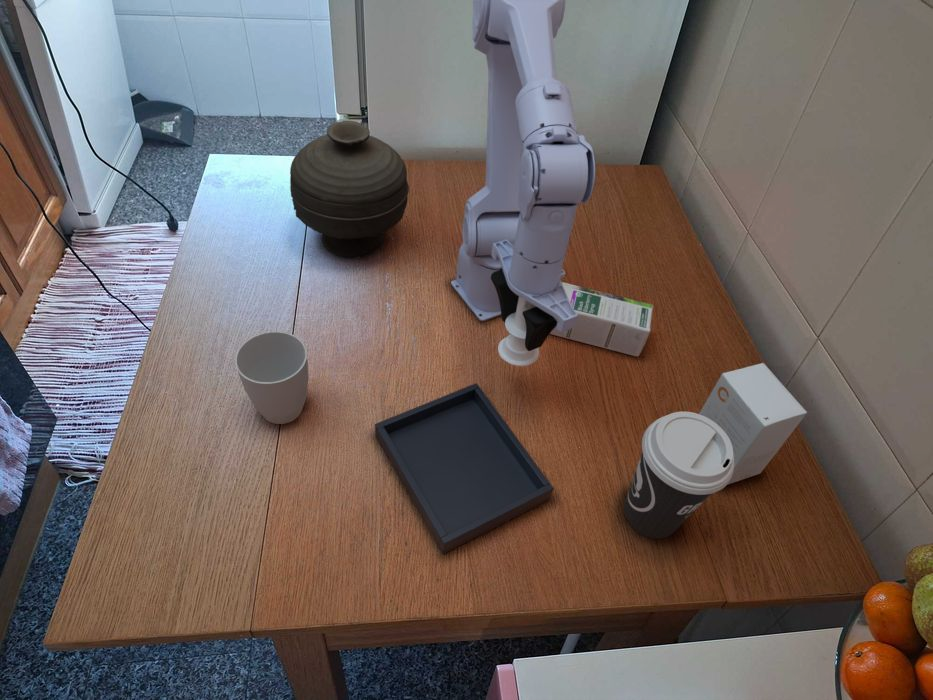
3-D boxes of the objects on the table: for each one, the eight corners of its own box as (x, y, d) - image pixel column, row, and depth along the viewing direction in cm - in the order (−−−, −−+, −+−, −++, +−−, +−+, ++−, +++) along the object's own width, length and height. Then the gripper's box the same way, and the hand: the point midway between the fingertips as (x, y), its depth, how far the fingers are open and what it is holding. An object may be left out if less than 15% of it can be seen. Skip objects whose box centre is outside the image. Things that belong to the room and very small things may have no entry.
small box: (760, 474, 82) (809, 413, 72) (720, 488, 80) (764, 427, 70) (722, 424, 87) (764, 360, 77) (683, 436, 85) (720, 372, 75)
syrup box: (651, 331, 89) (549, 303, 91) (638, 359, 94) (541, 332, 95) (654, 304, 93) (556, 278, 95) (642, 332, 98) (548, 307, 99)
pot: (433, 227, 109) (429, 121, 93) (367, 291, 99) (350, 184, 84) (350, 190, 115) (333, 84, 99) (280, 248, 105) (250, 140, 90)
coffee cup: (644, 565, 72) (689, 498, 61) (595, 496, 78) (629, 423, 67) (707, 531, 76) (761, 462, 65) (656, 467, 81) (698, 393, 70)
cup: (325, 394, 84) (319, 343, 77) (294, 442, 79) (284, 392, 72) (270, 376, 86) (258, 323, 78) (236, 422, 80) (220, 370, 73)
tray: (375, 435, 81) (374, 423, 79) (474, 395, 87) (476, 382, 85) (442, 554, 71) (444, 543, 69) (550, 499, 77) (554, 488, 75)
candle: (489, 350, 83) (500, 279, 74) (515, 330, 86) (529, 259, 77) (521, 373, 80) (537, 303, 72) (547, 351, 83) (565, 282, 74)
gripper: (610, 276, 68) (582, 361, 78) (532, 202, 76) (516, 288, 86) (556, 296, 65) (535, 381, 75) (481, 217, 73) (471, 304, 83)
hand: (521, 333), depth 80 cm, fingers closed on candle, 5 cm apart
